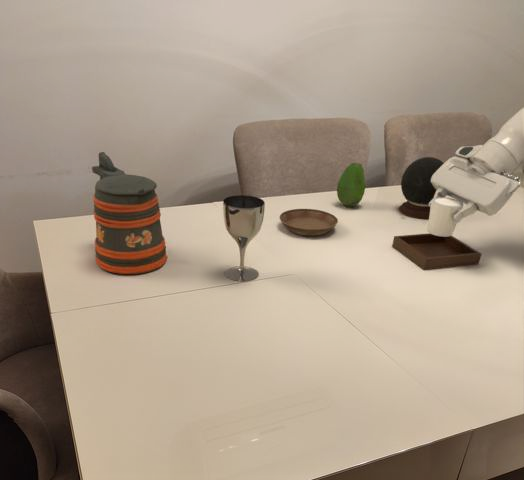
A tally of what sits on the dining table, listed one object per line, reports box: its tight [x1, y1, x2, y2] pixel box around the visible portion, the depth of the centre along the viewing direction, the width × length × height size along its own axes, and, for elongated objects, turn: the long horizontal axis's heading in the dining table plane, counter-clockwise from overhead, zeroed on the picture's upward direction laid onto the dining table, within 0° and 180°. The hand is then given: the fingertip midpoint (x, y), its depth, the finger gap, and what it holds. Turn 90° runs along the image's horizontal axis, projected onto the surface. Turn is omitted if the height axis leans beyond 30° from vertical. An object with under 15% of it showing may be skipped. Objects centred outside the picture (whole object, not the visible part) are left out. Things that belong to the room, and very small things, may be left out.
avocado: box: [336, 162, 366, 208], centre depth 142 cm, size 8×8×12 cm
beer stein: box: [91, 151, 168, 275], centre depth 102 cm, size 19×15×20 cm
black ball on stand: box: [398, 156, 445, 220], centre depth 139 cm, size 13×13×15 cm
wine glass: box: [222, 194, 266, 282], centre depth 100 cm, size 8×8×15 cm
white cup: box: [427, 197, 464, 237], centre depth 112 cm, size 7×7×7 cm
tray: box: [391, 232, 482, 271], centre depth 117 cm, size 15×14×3 cm
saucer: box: [279, 208, 339, 237], centre depth 127 cm, size 15×15×3 cm
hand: (442, 213), depth 112 cm, fingers closed on white cup, 7 cm apart
